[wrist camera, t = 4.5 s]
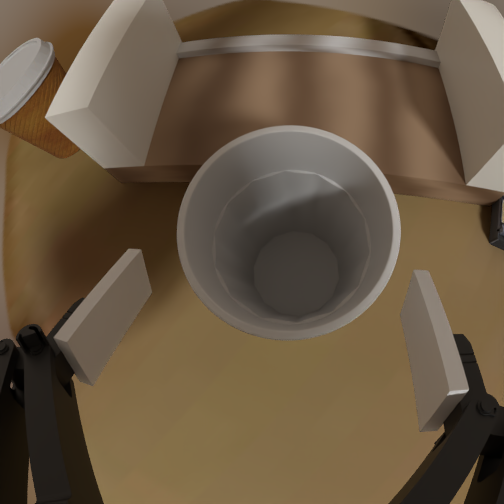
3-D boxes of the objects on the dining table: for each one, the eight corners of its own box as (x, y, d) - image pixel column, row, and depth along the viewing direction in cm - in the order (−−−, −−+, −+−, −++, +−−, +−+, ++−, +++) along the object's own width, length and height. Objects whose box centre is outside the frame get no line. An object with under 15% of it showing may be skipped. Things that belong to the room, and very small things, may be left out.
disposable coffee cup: (119, 94, 30) (62, 22, 18) (90, 169, 28) (10, 104, 16) (60, 106, 32) (4, 51, 20) (33, 174, 30) (-39, 126, 18)
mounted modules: (469, 63, 21) (494, 4, 13) (506, 192, 18) (564, 141, 10) (148, 51, 27) (116, -3, 19) (103, 168, 24) (44, 117, 16)
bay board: (460, 81, 24) (471, 58, 20) (489, 206, 21) (511, 188, 17) (158, 69, 30) (145, 46, 26) (121, 182, 27) (98, 164, 23)
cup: (371, 302, 21) (438, 274, 10) (267, 352, 22) (225, 377, 10) (322, 204, 23) (331, 99, 12) (224, 250, 24) (152, 179, 12)
